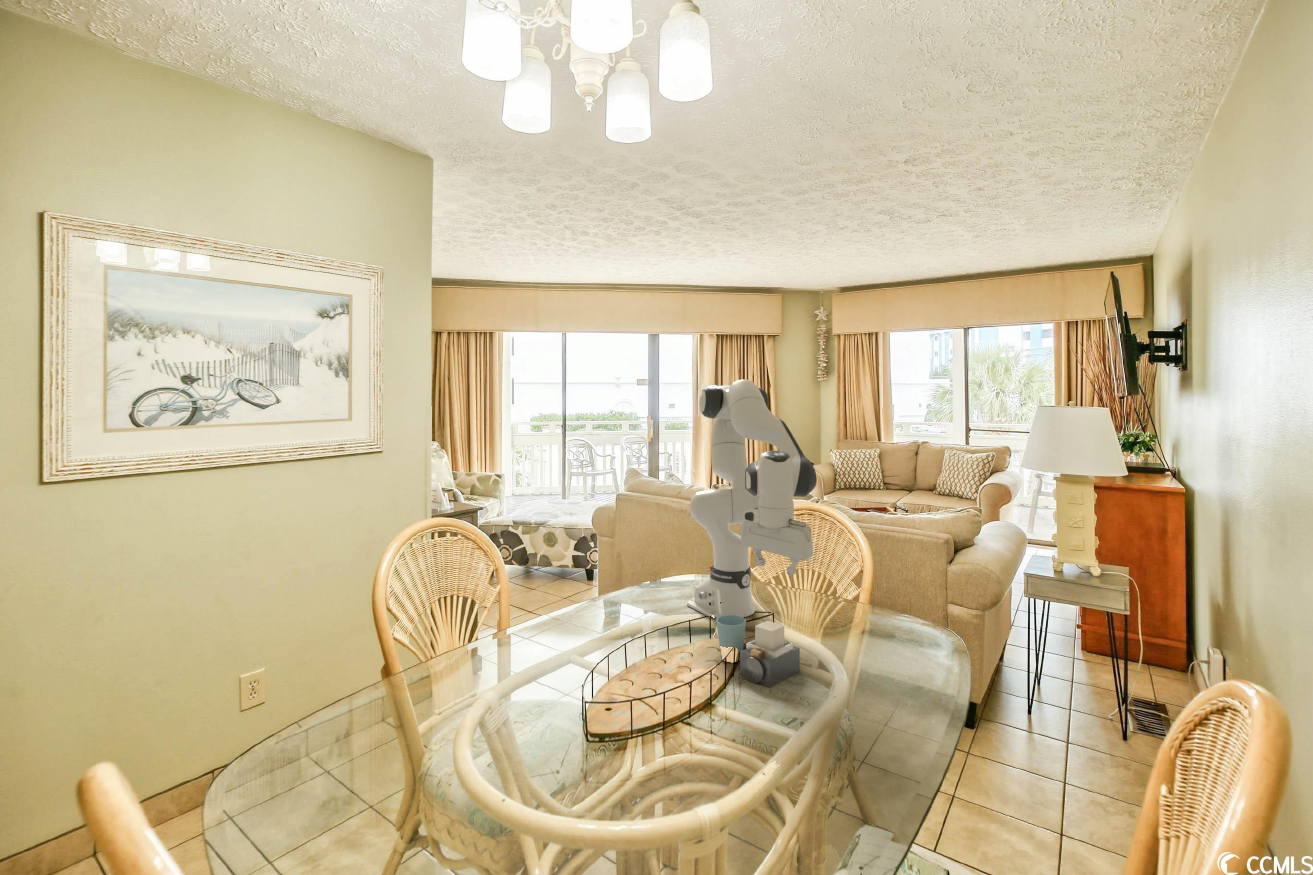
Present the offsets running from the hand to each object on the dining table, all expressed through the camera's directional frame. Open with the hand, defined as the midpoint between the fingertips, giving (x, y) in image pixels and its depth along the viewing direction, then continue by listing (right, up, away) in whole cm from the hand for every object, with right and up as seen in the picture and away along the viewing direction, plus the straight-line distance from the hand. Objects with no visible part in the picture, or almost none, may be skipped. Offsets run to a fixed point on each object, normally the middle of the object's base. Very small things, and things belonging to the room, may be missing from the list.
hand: (775, 569), depth 156 cm
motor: (-2, -25, -4) cm, 25 cm away
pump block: (-2, -19, -5) cm, 19 cm away
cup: (-11, -24, +4) cm, 27 cm away
